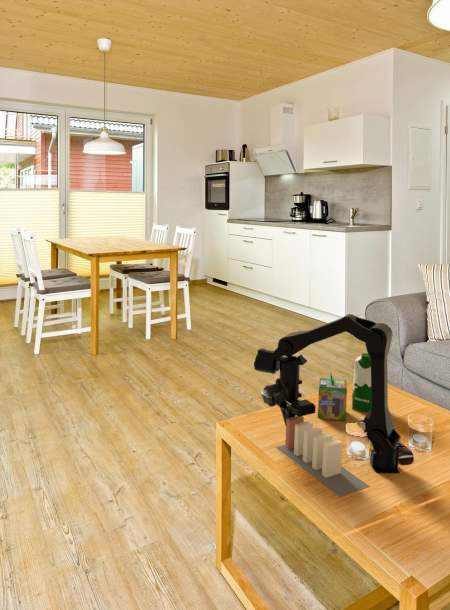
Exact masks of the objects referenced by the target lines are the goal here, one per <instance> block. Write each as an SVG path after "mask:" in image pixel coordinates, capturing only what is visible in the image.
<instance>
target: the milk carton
mask: <svg viewBox="0 0 450 610" xmlns="http://www.w3.org/2000/svg"><path fill="white" fill-rule="evenodd" d="M353 365H354V366H353V380H352V396H351V398H352V400H351V409H352V410H354V411H359V412H364V413H366V414H367V413H368V412H369V411H371V410H372V406H371V360H370V357H369V355H368V352H365V353H362V354H361V355H359V356H358V357H357V358H356V359H355V360H354V364H353Z"/></svg>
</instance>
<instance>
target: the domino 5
mask: <svg viewBox="0 0 450 610" xmlns="http://www.w3.org/2000/svg"><path fill="white" fill-rule="evenodd" d="M342 453H343V441H342V440H340V439H335V440H332V442H328V443H324V447H323V464H322V475H323V476H324V477H325V478H327V477H330V476H333V475H336V474H339V473H341V466H342V458H343V457H342V456H343V454H342Z"/></svg>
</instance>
